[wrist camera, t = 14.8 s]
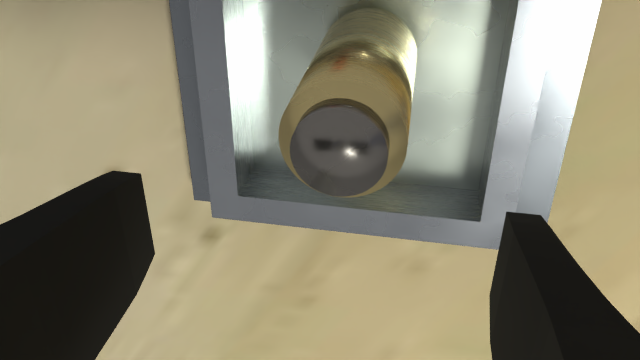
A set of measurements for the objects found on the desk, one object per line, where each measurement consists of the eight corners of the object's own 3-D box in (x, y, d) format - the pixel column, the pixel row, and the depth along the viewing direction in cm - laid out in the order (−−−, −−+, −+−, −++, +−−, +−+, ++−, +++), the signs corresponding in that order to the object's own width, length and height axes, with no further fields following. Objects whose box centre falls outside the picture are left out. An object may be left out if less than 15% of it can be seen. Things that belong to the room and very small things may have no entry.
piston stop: (430, 24, 18) (425, 115, 13) (399, 111, 20) (383, 226, 14) (334, -5, 18) (287, 74, 13) (312, 84, 20) (261, 189, 14)
